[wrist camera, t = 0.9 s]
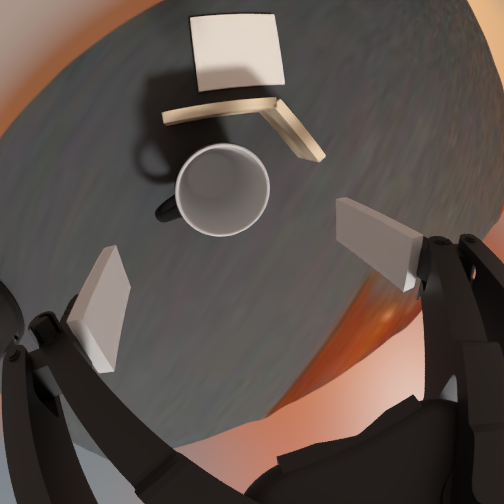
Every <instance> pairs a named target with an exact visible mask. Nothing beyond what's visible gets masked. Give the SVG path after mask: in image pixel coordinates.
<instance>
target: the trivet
mask: <svg viewBox="0 0 504 504" xmlns="http://www.w3.org/2000/svg"><path fill="white" fill-rule="evenodd" d="M190 25H191V34H192V43H193V51H194V59H195V67H196V75H197V83H198V91H199V92H203V91H210V90H218V89H226V88H236V87H248V86H263V85H284V84H285V81H284V74H283V67H282V60H281V53H280V47H279V40H278V34H277V28H276V23H275V17H274V15H272V14H226V15H211V16H200V17H191V18H190Z"/></svg>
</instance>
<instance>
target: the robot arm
mask: <svg viewBox="0 0 504 504" xmlns="http://www.w3.org/2000/svg"><path fill="white" fill-rule="evenodd" d="M336 240H337V241H339V242H340V243H341V244H343V245H344V246H345V247H347V248H348V249H349V250H351V251H352V252H353V253H355V254H356V255H357V256H359V257H360V258H361V259H363V260H364V261H365V262H366V263H368V264H369V265H370V266H372V267H373V268H374V269H375V270H377V271H378V272H379V273H381V274H382V275H383V276H384V277H386V278H387V279H388V280H389V281H391V282H392V283H393V284H394V285H396V286H397V287H398V288H399V289H400V290H402V291H403V292H404V291H407V290H409V289H411V288H413V287H414V285H415V280H416V276H417V277H419V278H420V279H421V283H420V287H419V291H418V295H417V300H419V297H420V296H421V302H422V312H423V325H424V341H425V393H424V399H423V400H422V401H418V400H417V399H416V397H415V396H414V395H412V396H410V397H408V398H407V399H405V400H403V401H402V402H400V403H399V404H397V405H395V406H393V407H392V408H390V409H388V410H386V411H385V412H384V413H383V414H382V415H381V416H380V417H378V418H377V419H376V420H375V421H374V422H373V423H372V424H371V425H369V426H368V427H367V428H366V429H365V430H364V431H362V432H361V433H360V434H358V435H356V436H353V437H348V438H344V439H338V440H333V441H328V442H322V443H315V444H313V445H310V446H308V447H305V448H302V449H299V450H296V451H293V452H290V453H287V454H284V455H281V456H277V463H278V465H276V466H275V467H273V468H271V469H269V470H268V471H267V472H265V473H264V474H262V475H261V476H260V477H259V478H258V479H256V480H255V481H254V482H253V483H252V485H251V486H250V487H249V488H248V489H247V491H246V492H245V493H244V495H243V494H241V493H240V492H238V491H236V490H234V489H233V488H231V487H229V486H228V485H226V484H224V483H223V482H222V481H219V480H218V479H217V478H215V477H214V476H212V475H211V474H209V473H208V472H206V471H205V470H203V469H202V468H201V467H199V466H198V465H196V464H195V463H193V462H192V461H191V460H189V459H188V458H187V457H185V456H184V455H182V454H181V453H179V452H176V451H175V450H174V449H172V448H171V447H170V446H169V445H168V444H166V443H165V442H164V441H163V440H162V439H160V438H159V437H158V436H157V435H156V434H155V433H154V432H152V431H151V430H150V429H149V428H148V427H147V426H146V425H145V424H144V423H143V422H142V421H140V420H139V419H138V418H137V417H136V416H135V415H134V414H133V413H132V412H131V411H130V410H129V409H128V408H127V407H126V406H125V405H124V404H123V403H122V402H121V401H120V400H119V398H118V397H117V396H116V395H115V394H114V393H113V392H112V391H111V390H110V389H109V388H108V386H107V385H106V384H105V383H104V382H103V381H102V380H101V378H100V377H99V376H98V375H97V374H96V372H95V371H94V370H93V369H92V368H91V367H92V364H93V366H94V367H95V369H96V370H97V371H98V373H105V372H114V371H115V364H116V358H117V351H118V346H119V340H120V334H121V329H122V324H123V319H124V314H125V310H126V305H127V301H128V296H129V292H130V288H131V286H130V284H129V281H128V278H127V276H126V273H125V270H124V267H123V264H122V262H121V259H120V256H119V253H118V250H117V247H116V245H113V246H109V247H105V248H104V249H103V250H102V252H101V254H100V256H99V257H98V259H97V261H96V263H95V265H94V266H93V268H92V270H91V272H90V274H89V276H88V278H87V280H86V282H85V283H84V285H83V287H82V289H81V291H80V293H79V294H77V295H75V296H74V297H73V298H72V299H71V300H70V302H69V304H68V306H67V308H66V310H65V312H64V315H63V316H62V318H61V320H60V322H59V321H58V319H57V317H56V316H55V314H54V313H53V312H52V311H47V312H44V313H41V314H39V315H38V316H36V317H35V318H34V319H33V320H32V321H31V322H30V324H29V326H28V331H29V333H30V334H31V336H32V338H33V339H34V341H35V342H36V344H37V345H38V347H39V349H37V350H34V351H32V352H29V353H28V351H27V350H26V348H25V347H24V346H23V345H18V344H19V342H20V340H21V338H22V336H23V334H24V319H23V316H22V313H21V310H20V308H19V306H18V304H17V302H16V301H15V299H14V298H13V296H12V295H11V293H10V292H9V291H8V290H7V289H6V287H5V286H4V285H3V284H2V283H0V359H1V358H3V357H4V359H3V370H2V420H3V432H4V442H5V450H6V457H7V463H8V469H9V474H10V478H11V483H12V487H13V491H14V495H15V498H16V501H17V504H98V503H97V501H96V499H95V497H94V495H93V493H92V490H91V488H90V486H89V484H88V482H87V479H86V477H85V475H84V473H83V470H82V468H81V465H80V463H79V460H78V457H77V455H76V452H75V449H74V446H73V443H72V440H71V437H70V434H69V431H68V428H67V424H66V421H65V417H64V413H63V410H62V406H61V401H60V397H59V395H60V394H63V395H64V397H65V398H66V400H67V402H68V403H69V405H70V406H71V408H72V410H73V411H74V413H75V414H76V416H77V417H78V419H79V420H80V422H81V423H82V425H83V426H84V428H85V429H86V430H87V432H88V433H89V435H90V436H91V437H92V439H93V440H94V441H95V443H96V444H97V445H98V447H99V448H100V449H101V450H102V452H103V453H104V454H105V455H106V456H107V458H108V459H109V460H110V461H111V462H112V464H113V465H114V466H115V467H116V468H117V469H118V470H119V472H120V473H121V474H122V475H123V476H124V477H125V478H126V479H127V480H128V481H129V482H130V483H131V485H132V486H133V487H134V488H135V493H136V495H137V496H138V497H139V498H140V499H141V500H142V501H143V503H145V504H504V264H503V263H502V261H501V260H500V259H499V258H498V257H497V256H496V255H495V254H494V253H493V252H492V251H491V250H490V249H489V248H488V247H487V246H486V245H485V244H484V243H483V242H482V241H481V240H480V239H478V238H477V237H475V236H474V235H472V234H462V235H460V239H459V244H453V243H452V242H451V241H450V240H449V239H447V238H444V237H441V236H432V237H430V238H429V239H428V238H426V237H424V236H423V235H422V234H420V233H418V232H416V231H414V230H413V229H411V228H409V227H407V226H405V225H403V224H401V223H399V222H397V221H395V220H393V219H391V218H389V217H387V216H385V215H383V214H381V213H379V212H377V211H375V210H373V209H371V208H369V207H366V206H364V205H362V204H360V203H358V202H356V201H353V200H351V199H349V198H347V197H345V198H338V199H336ZM474 269H476V276H475V279H473V278H472V277H473V273H474Z"/></svg>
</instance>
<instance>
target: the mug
mask: <svg viewBox="0 0 504 504" xmlns="http://www.w3.org/2000/svg"><path fill="white" fill-rule="evenodd" d="M269 192H270V184H269V178H268V174H267V171H266V169H265V167H264V165H263V164H262V162H261V161H260V160H259V158H258V157H257V156H256V155H255V154H254V153H252V152H251V151H250V150H248V149H246V148H244V147H242V146H240V145H236V144H232V143H224V142H221V143H212V144H208V145H205V146H202V147H200V148H198V149H196V150H195V151H193V152H192V153H191V154H190V155H189V156H188V157H187V158H186V159H185V160H184V162H183V163H182V165H181V166H180V168H179V171H178V173H177V176H176V180H175V195H173V196H172V197H170V198H169V199H167V200H166V201H165V202H164V203H162V204H161V205H160V206H159V207H158V208H157V210H156V211H155V216H156V218H157V220H158V221H160V222H168V221H171V220H174V219H177V218H181V217H183V218H184V219H185V221H186V222H187V223H188V224H189V225H190V226H192V227H193V228H194V229H196V230H197V231H199V232H201V233H204V234H207V235H211V236H230V235H234V234H237V233H239V232H242V231H244V230H245V229H247V228H248V227H250V226H251V225H252V224H253V223H255V222H256V221H257V219H258V218H259V217H260V216H261V214H262V213H263V211H264V209H265V207H266V205H267V202H268V198H269Z"/></svg>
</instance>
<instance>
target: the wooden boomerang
mask: <svg viewBox="0 0 504 504" xmlns="http://www.w3.org/2000/svg"><path fill="white" fill-rule="evenodd" d="M252 112H259V113H260V114H261V115H262V116H263V117H264V118H265V119H266V120H267V121H268V123H269V124H270V125H271V126H272V127H273V128H274V129H275V131H276V132H277V133H278V134H279V135H280V136H281V137H282V139H283V140H284V141H285V142H286V143H287V145H288V146H289V147H290V148H291V149H292V150H293V152H294V153H295V154H296V155H297V157H298V158H303V159H307V160H312V161H316V162H320V161H321V160H322V159H323V158H324V157H326V155H325V154H324V152H323V151H322V150H321V148H320V147H319V146H318V144H317V143H316V142H315V140H314V139H313V138H312V137H311V135H310V134H309V133H308V132H307V130H306V129H305V128H304V126H303V125H302V124H301V123H300V122H299V120H298V119H297V118H296V117H295V115H294V114H293V113H292V112H291V111H290V109H289V108H288V107H287V106H286V105H285V104H284V102H283V101H282V100H281V99H280V100H276V97H271V98H256V99H244V100H235V101H226V102H218V103H211V104H204V105H198V106H192V107H186V108H181V109H176V110H171V111H166V112H162V116H163V122H164V124H165V125H166V126H169V125H173V124H178V123H183V122H189V121H194V120H200V119H206V118H212V117H219V116H226V115H234V114H243V113H252Z"/></svg>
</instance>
